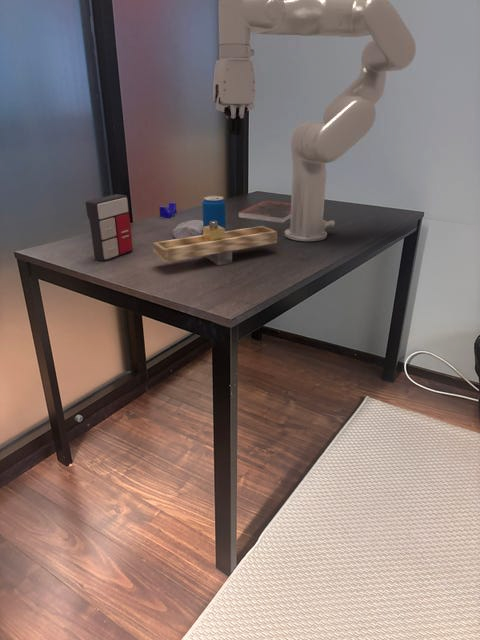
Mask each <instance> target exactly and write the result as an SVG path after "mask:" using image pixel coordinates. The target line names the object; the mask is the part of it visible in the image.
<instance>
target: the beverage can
mask: <svg viewBox="0 0 480 640" xmlns="http://www.w3.org/2000/svg"><path fill="white" fill-rule="evenodd" d="M202 221H203V227H204V226H210V221H218V225H219V226H221V227H223V228H225V231H226V201H225V199H224V196H222V195H221V196H220V195H208V196H204V197H203V200H202Z"/></svg>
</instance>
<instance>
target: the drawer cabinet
mask: <svg viewBox="0 0 480 640" xmlns="http://www.w3.org/2000/svg"><path fill="white" fill-rule="evenodd" d="M128 201H129V200H128V196H127V195H126V194H125V195H124V194H119V193H118V194H117V193H115V194H112V195H111V194H110V195H107V196H101V197H98V198H94V199H89V200H86V201H85V208H86V216H87V218H88V220H89V225H90V232H91V233H90V234H91V239H92V247H93V248H92V249H93V255H94V260H96V261H101V262H106V261H108V260H112V259H114V258H116V257H120V256H123V255H124V254H127V253H129V252H132V251H133V238H132V226H131V219H130V217H131V216H130V211H129V202H128Z"/></svg>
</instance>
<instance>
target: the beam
mask: <svg viewBox="0 0 480 640" xmlns="http://www.w3.org/2000/svg"><path fill="white" fill-rule="evenodd" d="M277 243H278V231H276V230H274V229H272V228H269V227H266V226H264V225H259V226H253V227H252V226H251V227H246V228H240V229H238V228H237V229H233V230H232V229H231V230H227V231H225V239H221V240H215V241H209V242H203V235H199V236H193V237H186V238H180V239H175V238H174V239H168V240H160V241H156V242H152V250H153V255H154V256H155V257H156V258H158V259H159V260H161V262H163V263H170V262H174V261H175V262H176V261H180V260H181V261H182V260H187V259H192V258H199V257H203V256H204V258H206V259H208V260H209V261H211V262H212V263H213V264H215V265H217V266H222V265H228V264H233V251H237V250H243V249H248V248H253V247H254V248H255V247H261V246H267V245H272V244H277Z"/></svg>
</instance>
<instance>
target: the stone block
mask: <svg viewBox="0 0 480 640" xmlns="http://www.w3.org/2000/svg"><path fill="white" fill-rule="evenodd" d="M172 235H173V238H174V239H180V238H186V237H193V236H199V235H203V220H200V219H192V220H191V219H190V220H186V221H181V223H179V224H178V225H176V227H175V228H174V229H173V230H172Z"/></svg>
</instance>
